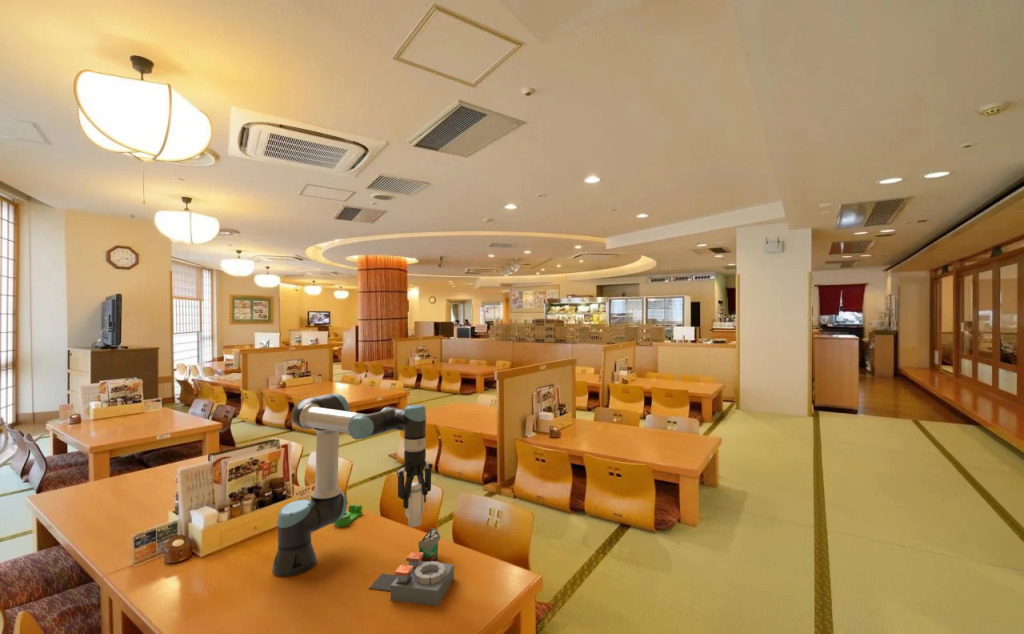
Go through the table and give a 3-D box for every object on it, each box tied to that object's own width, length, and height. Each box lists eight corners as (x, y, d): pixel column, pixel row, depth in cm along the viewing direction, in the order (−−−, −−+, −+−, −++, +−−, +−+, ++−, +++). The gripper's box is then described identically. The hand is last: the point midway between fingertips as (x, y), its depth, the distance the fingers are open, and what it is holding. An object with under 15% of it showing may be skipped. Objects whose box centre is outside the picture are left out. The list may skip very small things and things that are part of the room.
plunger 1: (395, 591, 148) (395, 571, 148) (401, 583, 153) (401, 564, 153) (407, 593, 147) (407, 573, 147) (413, 585, 152) (413, 565, 152)
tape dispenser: (344, 528, 201) (344, 518, 201) (331, 527, 202) (330, 517, 202) (362, 514, 215) (362, 505, 216) (349, 513, 217) (349, 504, 217)
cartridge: (405, 523, 155) (405, 484, 155) (417, 519, 158) (417, 481, 158) (412, 528, 152) (412, 488, 152) (423, 524, 155) (424, 484, 155)
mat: (369, 589, 154) (369, 587, 154) (381, 574, 163) (381, 573, 163) (392, 591, 152) (392, 590, 152) (404, 577, 161) (404, 575, 161)
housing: (390, 600, 147) (390, 579, 147) (410, 573, 163) (410, 554, 163) (438, 606, 144) (437, 584, 144) (453, 578, 160) (453, 559, 160)
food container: (433, 569, 165) (433, 543, 166) (418, 568, 167) (418, 541, 167) (444, 552, 178) (444, 528, 178) (430, 551, 179) (430, 527, 179)
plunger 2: (406, 576, 157) (406, 557, 157) (412, 569, 162) (411, 551, 162) (418, 577, 156) (418, 558, 156) (423, 570, 161) (423, 552, 161)
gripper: (397, 456, 146) (397, 526, 146) (441, 446, 158) (441, 510, 158) (387, 451, 152) (386, 518, 152) (430, 442, 164) (430, 504, 164)
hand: (414, 514), depth 155 cm, fingers closed on cartridge, 4 cm apart
